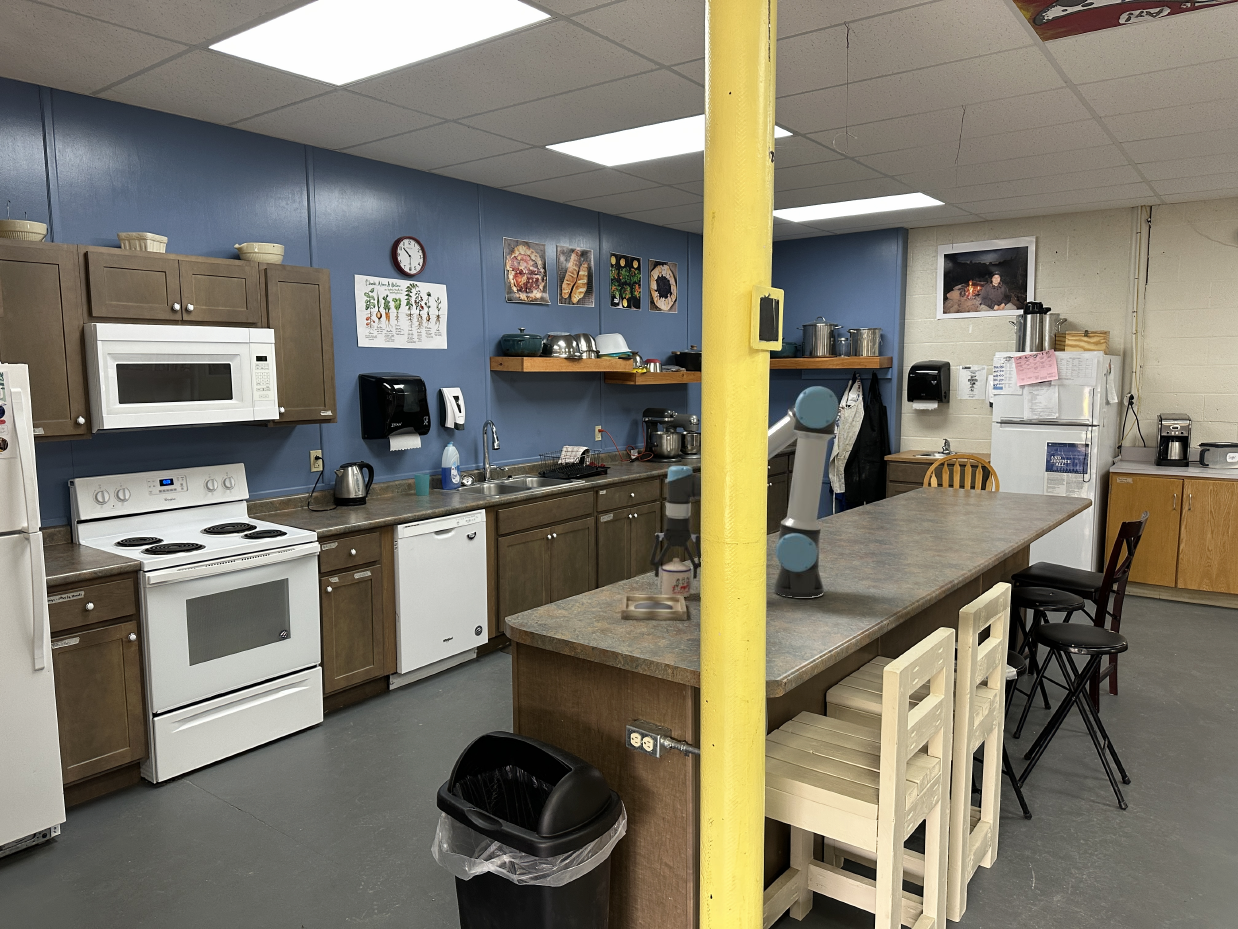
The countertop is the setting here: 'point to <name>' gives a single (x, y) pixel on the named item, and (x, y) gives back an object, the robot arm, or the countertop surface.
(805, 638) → the countertop surface
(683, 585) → the teacup with lid
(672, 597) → the birch tray
